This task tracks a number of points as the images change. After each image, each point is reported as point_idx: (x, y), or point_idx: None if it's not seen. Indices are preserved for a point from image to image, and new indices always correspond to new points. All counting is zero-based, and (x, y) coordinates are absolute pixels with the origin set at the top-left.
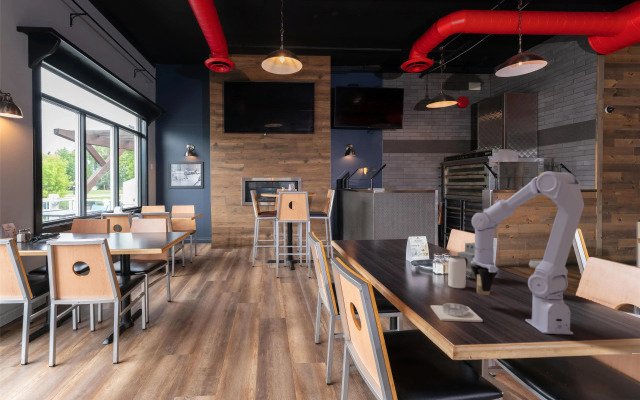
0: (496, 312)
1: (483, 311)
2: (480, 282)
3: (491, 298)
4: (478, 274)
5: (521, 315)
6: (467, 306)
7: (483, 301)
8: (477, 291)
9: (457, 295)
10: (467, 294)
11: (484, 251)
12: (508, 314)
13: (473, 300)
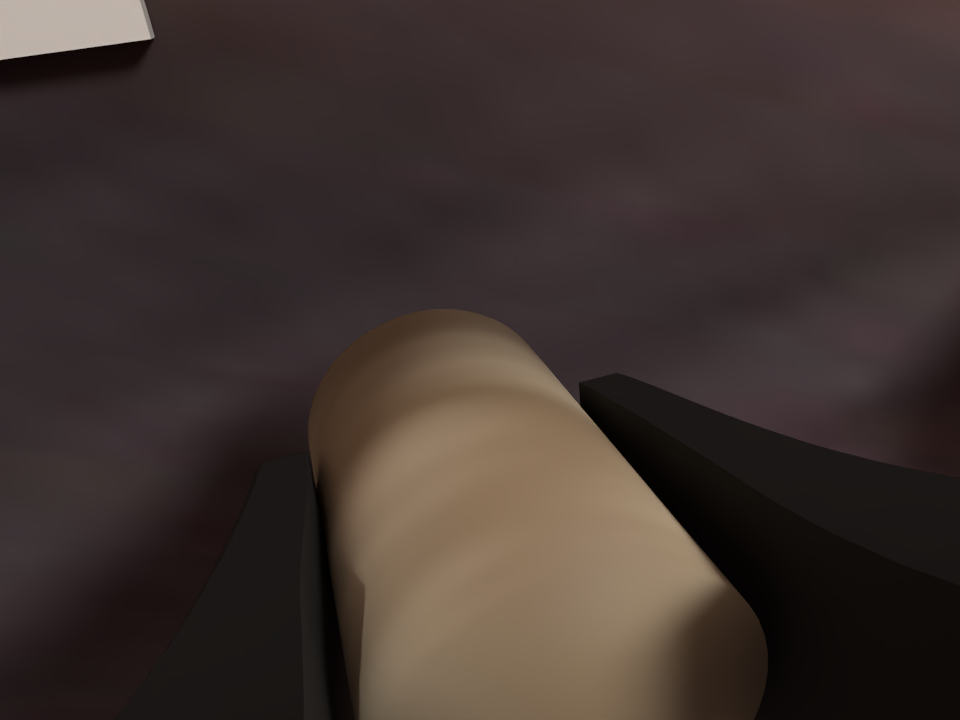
0: (110, 468)
1: (72, 292)
2: (379, 522)
3: None
4: (723, 606)
5: (115, 716)
6: (137, 31)
7: (601, 363)
8: (402, 334)
9: (861, 11)
10: (898, 192)
11: None
12: (84, 597)
13: (629, 230)
